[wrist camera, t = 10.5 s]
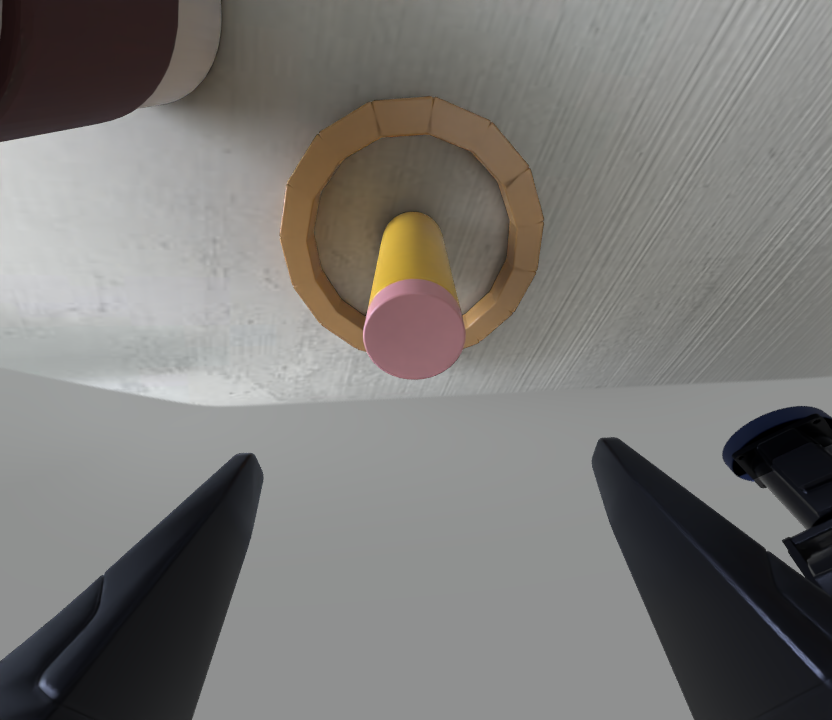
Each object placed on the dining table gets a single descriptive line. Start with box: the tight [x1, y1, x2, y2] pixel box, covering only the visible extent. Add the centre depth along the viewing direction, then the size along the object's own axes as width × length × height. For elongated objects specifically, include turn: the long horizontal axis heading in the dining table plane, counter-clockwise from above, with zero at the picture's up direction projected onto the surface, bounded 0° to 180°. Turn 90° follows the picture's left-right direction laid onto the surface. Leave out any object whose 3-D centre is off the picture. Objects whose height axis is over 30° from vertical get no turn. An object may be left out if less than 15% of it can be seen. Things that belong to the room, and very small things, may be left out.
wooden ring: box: [280, 96, 544, 352], centre depth 17 cm, size 12×12×2 cm
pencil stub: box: [363, 212, 466, 380], centre depth 14 cm, size 3×3×9 cm
